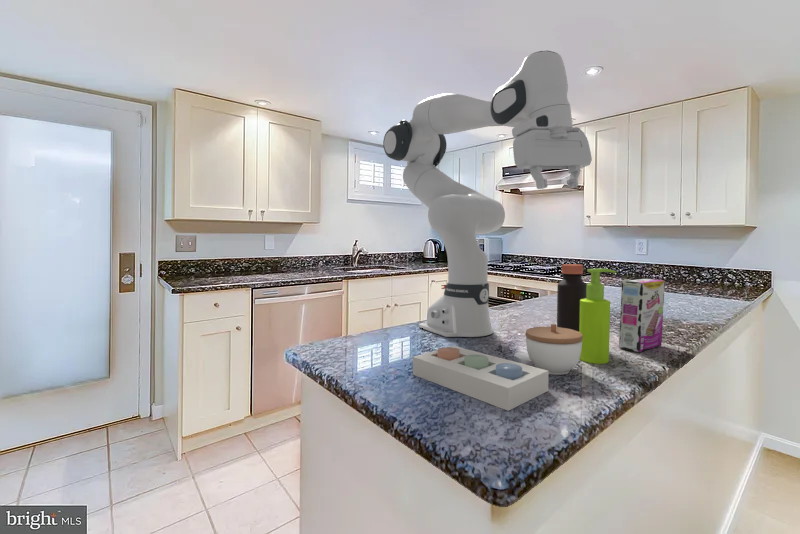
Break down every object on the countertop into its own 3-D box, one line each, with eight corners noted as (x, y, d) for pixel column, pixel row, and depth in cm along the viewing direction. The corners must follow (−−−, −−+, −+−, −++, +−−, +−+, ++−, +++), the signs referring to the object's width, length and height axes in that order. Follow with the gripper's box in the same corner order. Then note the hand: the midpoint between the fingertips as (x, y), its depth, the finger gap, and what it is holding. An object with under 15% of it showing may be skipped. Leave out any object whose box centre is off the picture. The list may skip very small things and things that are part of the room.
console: (412, 374, 77) (412, 356, 77) (453, 361, 85) (453, 345, 84) (508, 410, 60) (508, 388, 60) (548, 390, 68) (548, 370, 68)
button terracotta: (432, 364, 78) (432, 350, 78) (447, 360, 81) (447, 346, 81) (449, 370, 75) (449, 354, 74) (464, 365, 77) (464, 350, 77)
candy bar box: (640, 353, 89) (642, 282, 88) (618, 348, 93) (620, 280, 92) (663, 346, 95) (665, 279, 94) (641, 341, 99) (643, 277, 98)
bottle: (587, 342, 100) (588, 264, 98) (584, 348, 94) (585, 265, 92) (558, 338, 103) (559, 263, 102) (554, 345, 97) (555, 265, 96)
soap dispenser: (618, 364, 81) (620, 269, 80) (582, 363, 83) (584, 269, 81) (609, 356, 87) (611, 267, 86) (576, 355, 89) (577, 267, 87)
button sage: (459, 373, 73) (459, 357, 72) (474, 368, 75) (474, 353, 75) (478, 379, 69) (478, 363, 69) (493, 374, 72) (493, 358, 72)
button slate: (490, 383, 67) (490, 366, 67) (505, 377, 70) (505, 361, 70) (512, 391, 64) (512, 373, 64) (527, 384, 67) (527, 367, 67)
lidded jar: (539, 380, 73) (539, 331, 72) (517, 362, 84) (517, 319, 83) (593, 378, 74) (594, 329, 73) (565, 360, 85) (565, 318, 84)
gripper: (571, 132, 94) (578, 189, 94) (505, 129, 85) (513, 192, 85) (594, 122, 88) (602, 183, 88) (526, 118, 79) (534, 185, 79)
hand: (557, 187), depth 87 cm, fingers open, 8 cm apart
